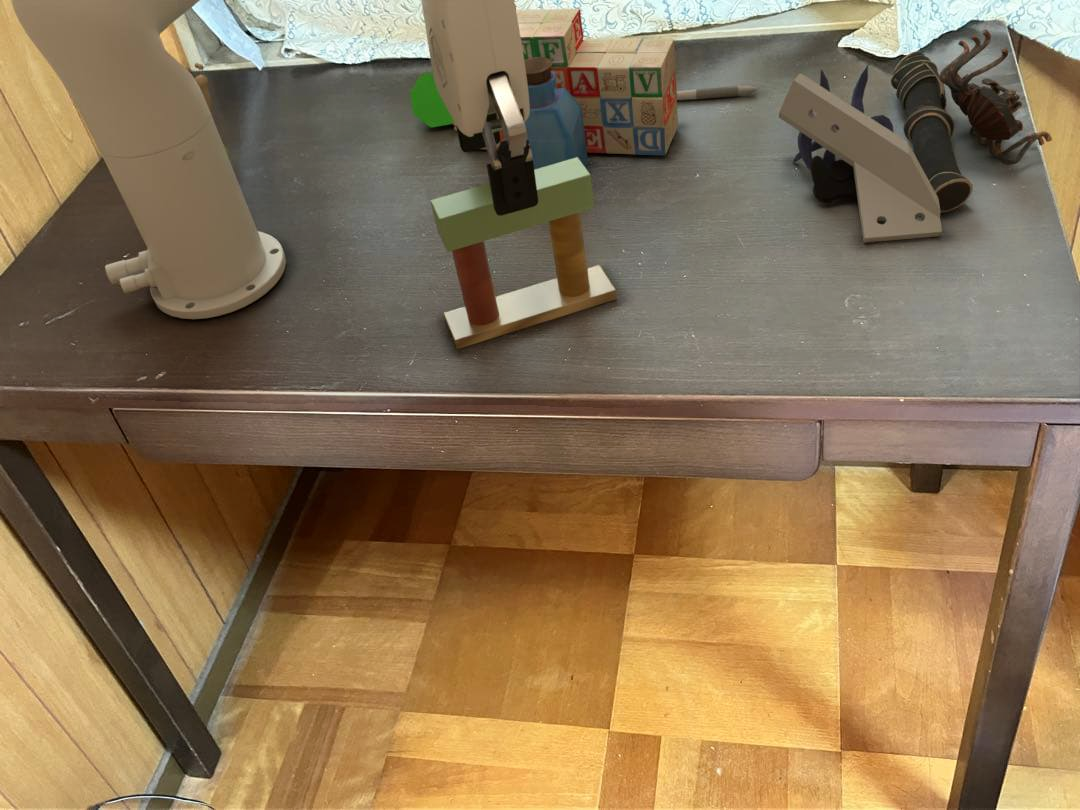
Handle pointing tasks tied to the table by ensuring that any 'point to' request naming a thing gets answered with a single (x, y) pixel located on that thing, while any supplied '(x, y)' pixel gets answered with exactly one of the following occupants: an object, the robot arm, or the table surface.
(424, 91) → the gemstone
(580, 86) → the stack of blocks
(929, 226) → the bracket
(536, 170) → the bar
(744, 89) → the pen
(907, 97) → the armor
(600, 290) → the rod stand
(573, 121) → the perfume bottle
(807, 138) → the figurine
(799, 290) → the table surface
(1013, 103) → the toy
